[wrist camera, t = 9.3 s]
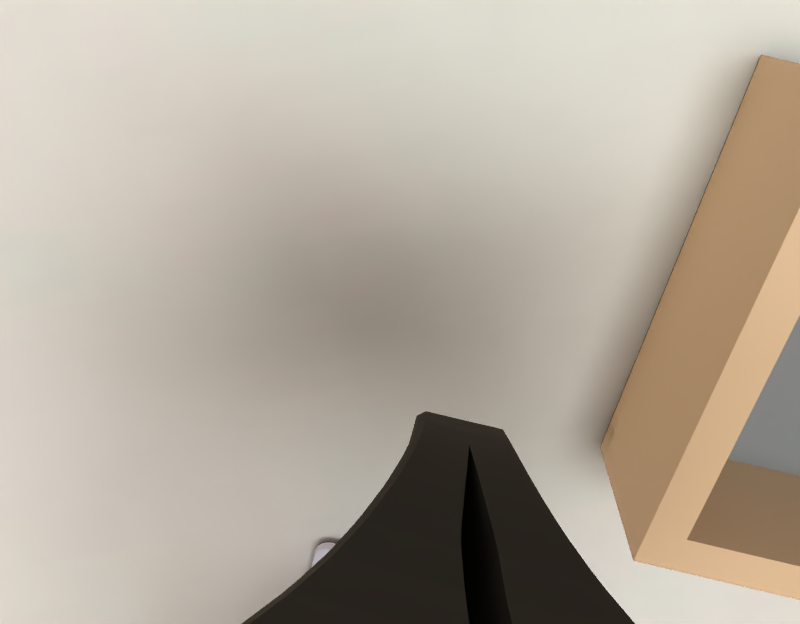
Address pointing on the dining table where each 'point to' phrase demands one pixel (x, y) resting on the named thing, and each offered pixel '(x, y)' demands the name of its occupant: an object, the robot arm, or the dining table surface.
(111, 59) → the dining table surface
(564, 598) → the robot arm
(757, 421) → the box
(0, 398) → the dining table surface
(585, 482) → the dining table surface
